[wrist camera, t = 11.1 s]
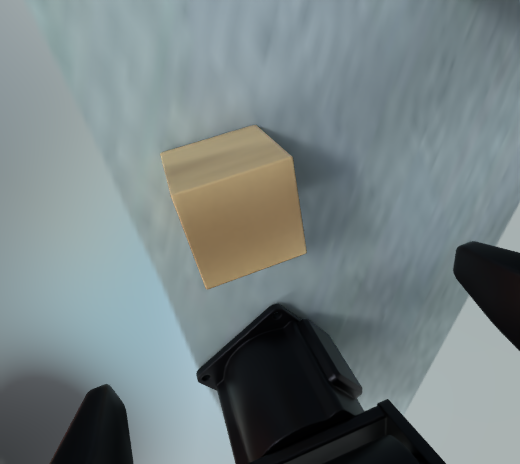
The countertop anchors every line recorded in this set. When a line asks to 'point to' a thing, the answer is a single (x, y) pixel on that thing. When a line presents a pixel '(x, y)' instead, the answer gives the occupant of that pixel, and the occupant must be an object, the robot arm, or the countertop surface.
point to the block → (236, 203)
